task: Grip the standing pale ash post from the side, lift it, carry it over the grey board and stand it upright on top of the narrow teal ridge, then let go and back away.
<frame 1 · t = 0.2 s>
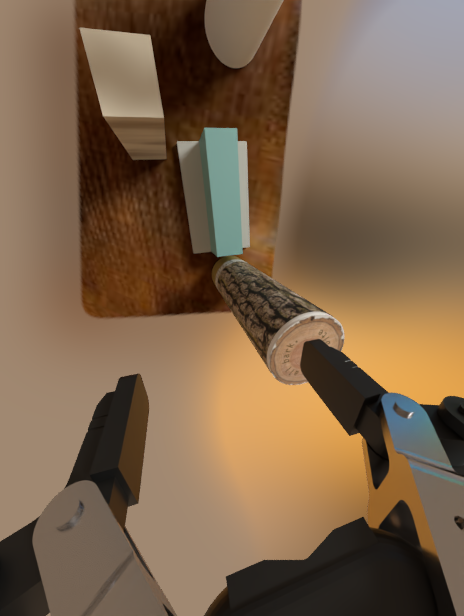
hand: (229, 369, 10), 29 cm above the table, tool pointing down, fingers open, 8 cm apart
bark log cylinder: (228, 272, 38), on the table
ash post: (145, 139, 27), on the table
cylindrical container: (232, 29, 25), on the table
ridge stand: (217, 201, 33), on the table
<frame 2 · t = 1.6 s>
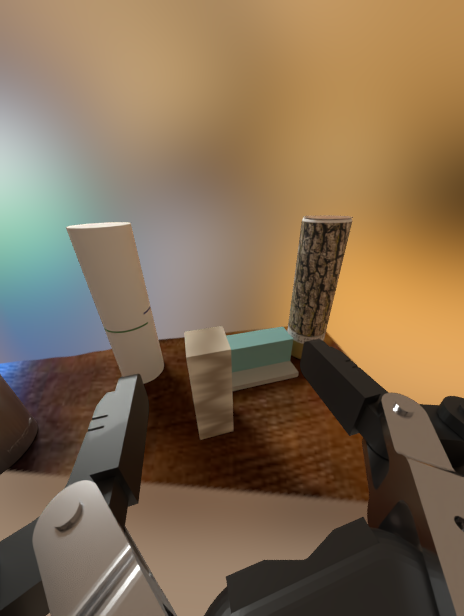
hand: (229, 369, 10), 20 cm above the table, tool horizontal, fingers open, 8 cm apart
bark log cylinder: (302, 351, 41), on the table
ash post: (214, 419, 29), on the table
cylindrical container: (144, 370, 38), on the table
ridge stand: (248, 364, 38), on the table
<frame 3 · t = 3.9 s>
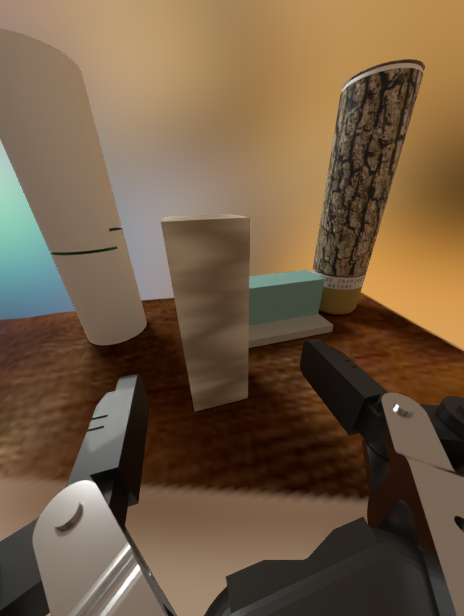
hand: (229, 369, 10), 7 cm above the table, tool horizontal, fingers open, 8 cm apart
bark log cylinder: (330, 307, 32), on the table
ash post: (216, 383, 19), on the table
cylindrical container: (119, 330, 27), on the table
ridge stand: (260, 321, 28), on the table
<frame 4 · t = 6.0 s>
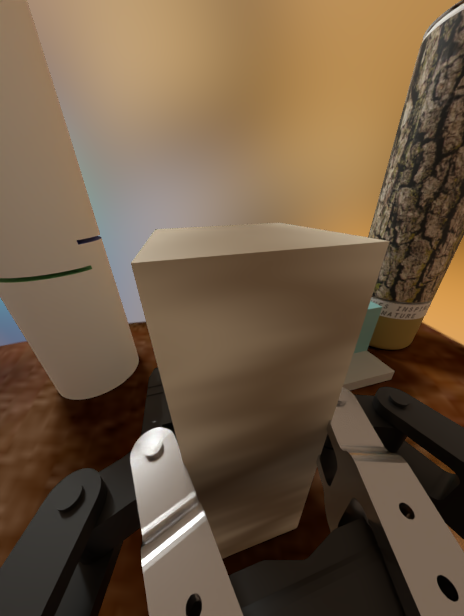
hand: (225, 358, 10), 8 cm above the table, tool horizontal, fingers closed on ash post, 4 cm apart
bark log cylinder: (374, 336, 25), on the table
ash post: (241, 488, 12), on the table, touching gripper
cylindrical container: (101, 370, 21), on the table
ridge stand: (289, 359, 21), on the table
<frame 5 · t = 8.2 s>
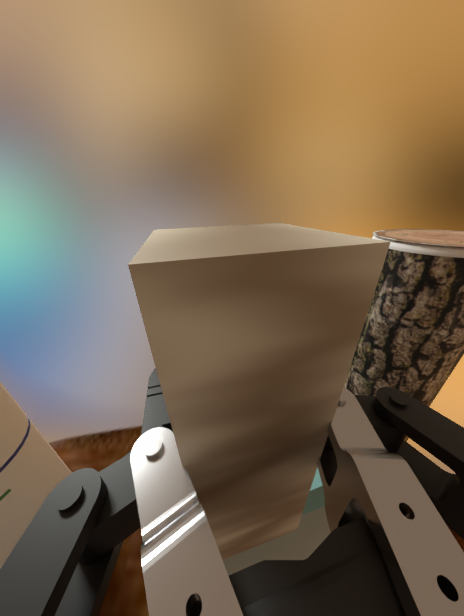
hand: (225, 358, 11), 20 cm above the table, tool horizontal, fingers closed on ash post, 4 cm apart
bark log cylinder: (342, 461, 24), on the table
ash post: (241, 489, 12), point 12 cm above the table, touching gripper
cylindrical container: (46, 531, 19), on the table
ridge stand: (249, 510, 20), on the table
when the fingers open (14 cm above the table, at t = 10.6 s): ash post stays where it is, resting on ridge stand.
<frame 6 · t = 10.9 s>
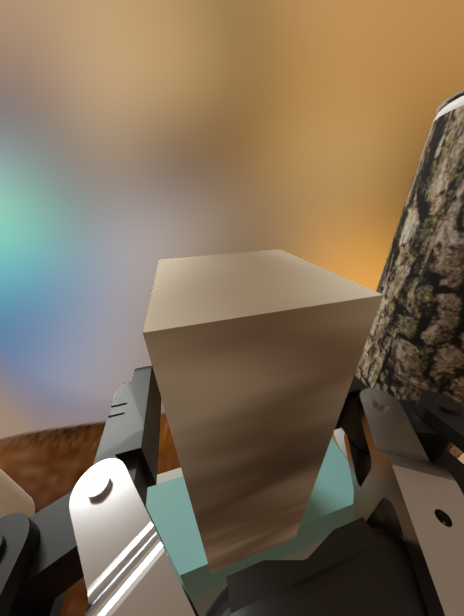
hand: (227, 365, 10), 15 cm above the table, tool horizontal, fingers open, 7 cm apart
bark log cylinder: (364, 469, 18), on the table
ash post: (241, 498, 12), point 6 cm above the table, touching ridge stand
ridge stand: (241, 533, 15), on the table
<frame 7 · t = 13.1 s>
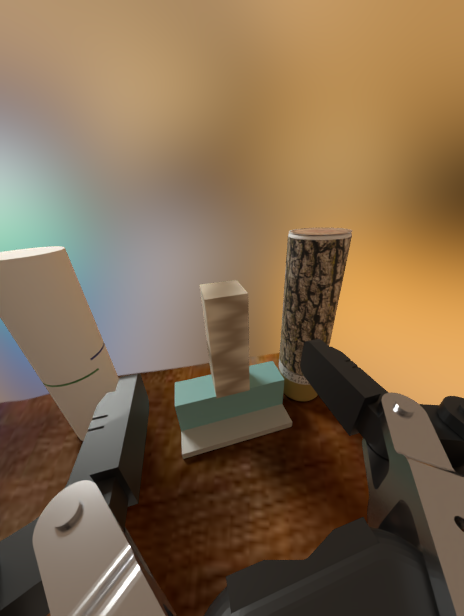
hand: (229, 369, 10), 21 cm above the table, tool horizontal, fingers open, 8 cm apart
bark log cylinder: (297, 387, 34), on the table
ash post: (229, 381, 28), point 6 cm above the table, touching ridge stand
cylindrical container: (105, 419, 31), on the table
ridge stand: (231, 409, 31), on the table
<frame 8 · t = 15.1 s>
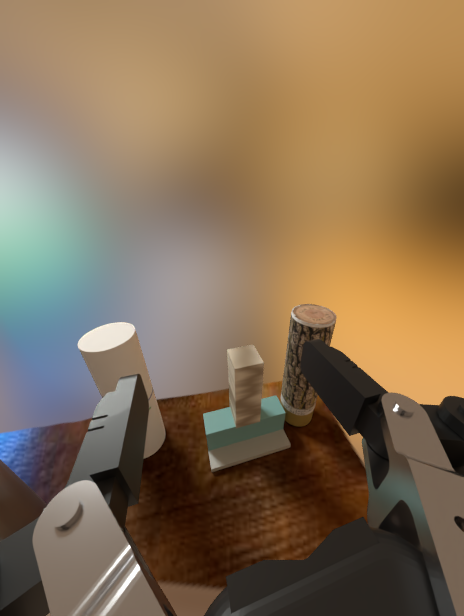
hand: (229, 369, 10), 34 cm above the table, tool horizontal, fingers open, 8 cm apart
bark log cylinder: (294, 413, 44), on the table
ash post: (244, 413, 38), point 6 cm above the table, touching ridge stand
cylindrical container: (147, 439, 40), on the table
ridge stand: (244, 432, 41), on the table
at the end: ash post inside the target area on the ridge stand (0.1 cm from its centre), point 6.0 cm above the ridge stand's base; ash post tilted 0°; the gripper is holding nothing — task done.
